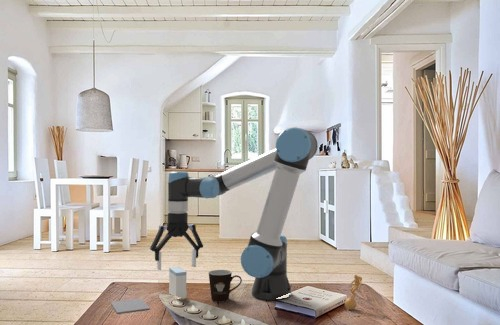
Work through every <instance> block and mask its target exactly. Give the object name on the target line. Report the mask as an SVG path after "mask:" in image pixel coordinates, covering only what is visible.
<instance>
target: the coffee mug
mask: <svg viewBox="0 0 500 325" xmlns="http://www.w3.org/2000/svg"><path fill="white" fill-rule="evenodd" d="M232 274H233V271H232V270H228V269H214V270H210V271H208V279H209V280H208V281H209V289H210V296H211V297H210V298H211V299H210V300H211V301H213V302H215V301H216V302H217V303H223V302H222V301H224V302H227V301H230V300H229V299H230V293H231V292H232V291H234V290H236V289H238V287H240V286H241V284H242V283H243V282H242V280H243V279H242V277H241V276H240V275H233V276H232ZM235 278H239V280H240V282H239V283H238V284H237V285H236V286H234V287H233V288H231V282H232V281H233V279H235Z"/></svg>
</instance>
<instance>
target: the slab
mask: <svg viewBox="0 0 500 325" xmlns="http://www.w3.org/2000/svg"><path fill="white" fill-rule="evenodd" d="M168 268H169V271H168V272H169V274H168V278H169V279H168V281H169V282H168V284H169V285H168V294H169V295H170V294H171V295H174V296H178V297H182V298H186V299H187V271H186V270H184V269H183V268H181V267H180V266H176V267H168ZM171 295H170V296H171Z"/></svg>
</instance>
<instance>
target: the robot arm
mask: <svg viewBox="0 0 500 325" xmlns="http://www.w3.org/2000/svg"><path fill="white" fill-rule="evenodd" d="M318 148H319V146H318V139H317V138H316V137H315V135H314V134H313V133H312V132H310V131H309V130H306V129H303V128H301V127H290V128H286V129H284V130H283V131H281V132H280V134H278V136H277V138H276V141H275V147H274V149H271V150H269V151H266V152H264V153H263V154H260V155H258V156H256V157H254V158H251V159H249V160H247V161H245V162H243V163H240V164H237V165H236V166H234V167H232V168H229V169H227V170H226V171H222V172H221V173H219V174H217V175H214V176H206V177H192V176H189V172H188V171H170V172H169V174H168V181H167V184H168V185H167V186H168V193H167V194H168V195H167V198H168V199H167V202H168V203H167V224H166V225H161V224H159V226H158V230H157V231H158V232H157V233H156V235H155V237H154V239H153V241H152V244H151V246H150V248H149V250H150V251H152V252H154V260H155V261H156V264H157V266H156V269H157V270H159V271H161V270H162V252H161V250H162V249H163V247H165V245H166V244H167V243H168V241H170V239H172V237H173V238H177V237H180V238H183V237H184V238H185V239H186V240H187V241H188V243H189V244H190V245H191V246H192V247H193V248H192V249H191V267H193V268H196V267H197V259H198V258H199V251H200V249H202V248H203V247H204V244H203V242H202V240H201V238H200V236H199V234H198V231H197V228H196V226H197V225H196V224H194V223H190V224H188V219H189V218H188V216H189V215H188V210H189V208H188V205H189V204H188V203H189V198H201V199H202V198H203V199H215V198H217V197H218V196H222V195H224V194H225V193H226V192H228V191H231V190H233V189H235V188H238V187H240V186H242V185H244V184H246V183H249V182H251V181H254V180H256V179H258V178H260V177H262V176H264V175H267V174H270V173H272V172H274V174H273V177H272V180H271V183H270V187H269V190H268V193H267V197H266V199H265V204H264V206H263V210H262V213H261V216H260V220H259V223H258V226H257V229H256V231H253V232H252V233H251V235H250V237H249V240H248V244H247V246H246V247H244V249H243V250H242V252H241V255H240V264H241V267H242V269H243V271H244V272H245V273H246V274H247V275H248V276H250V277H251V278H255V279H254V281H253V283H252V284H253V285H252V288H251V296H252V297H253V298H256V299H258V300H259V299H260V300H265V301H276V300H275V299H276V298H278V297H281V296H283V295H286V294H288V293H291V294H292V287H291V284H290V282H289V278H288V273H287V272H288V271H287V269H288V268H287V266H288V265H287V264H288V263H287V261H288V260H287V259H288V258H287V257H288V256H287V254H288V253H287V252H288V250H287V248H288V243H287V237H286V236H285V235H282V232H283V230H284V226H285V223H286V220H287V216H288V213H289V211H290V208H291V204H292V202H293V201H292V200H293V197H294V193H295V191H296V188H297V184H298V182H299V179H300V175H301V174H303V173H304V172H305V171H306V170H307V168H308V164H309V161H310V160H311V159H312V158H313V157H315V156H316V153H317V151H318ZM188 229H189V231H191V234H192V235H193V237H194V239H195V240H193V239H192V238H191V236H190V234H189V233H188ZM166 230H167V233H166V234H165V235H164V237H163V239H162V240H161V238H162V236H163V234H164V233H165V232H166Z"/></svg>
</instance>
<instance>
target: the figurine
mask: <svg viewBox="0 0 500 325" xmlns="http://www.w3.org/2000/svg"><path fill="white" fill-rule="evenodd" d="M353 277H354V279H353V280H352V282H351V283H350V285H349V286H352V287H351V288H350V289H349V291H350V293H351V296H349V297H347V298H346V299H345V301H344V307H345V309H348V310H349V311H353V310H354V309H356V307H357V302H356V300H355V297H356V292H360V289H361V287H362V281H363V278H362V276H359V275H357V274H355V275H354V276H353ZM353 284H354V285H353Z"/></svg>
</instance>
